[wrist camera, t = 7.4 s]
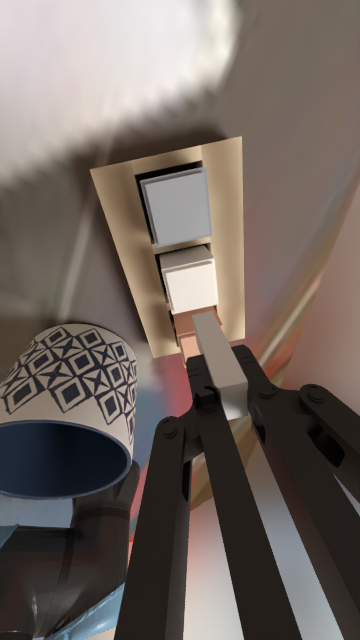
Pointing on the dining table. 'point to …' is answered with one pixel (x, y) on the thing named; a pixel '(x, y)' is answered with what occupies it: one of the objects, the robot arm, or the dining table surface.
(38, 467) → the planter
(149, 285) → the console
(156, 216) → the key
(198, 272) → the key mid
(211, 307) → the key
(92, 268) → the dining table surface
